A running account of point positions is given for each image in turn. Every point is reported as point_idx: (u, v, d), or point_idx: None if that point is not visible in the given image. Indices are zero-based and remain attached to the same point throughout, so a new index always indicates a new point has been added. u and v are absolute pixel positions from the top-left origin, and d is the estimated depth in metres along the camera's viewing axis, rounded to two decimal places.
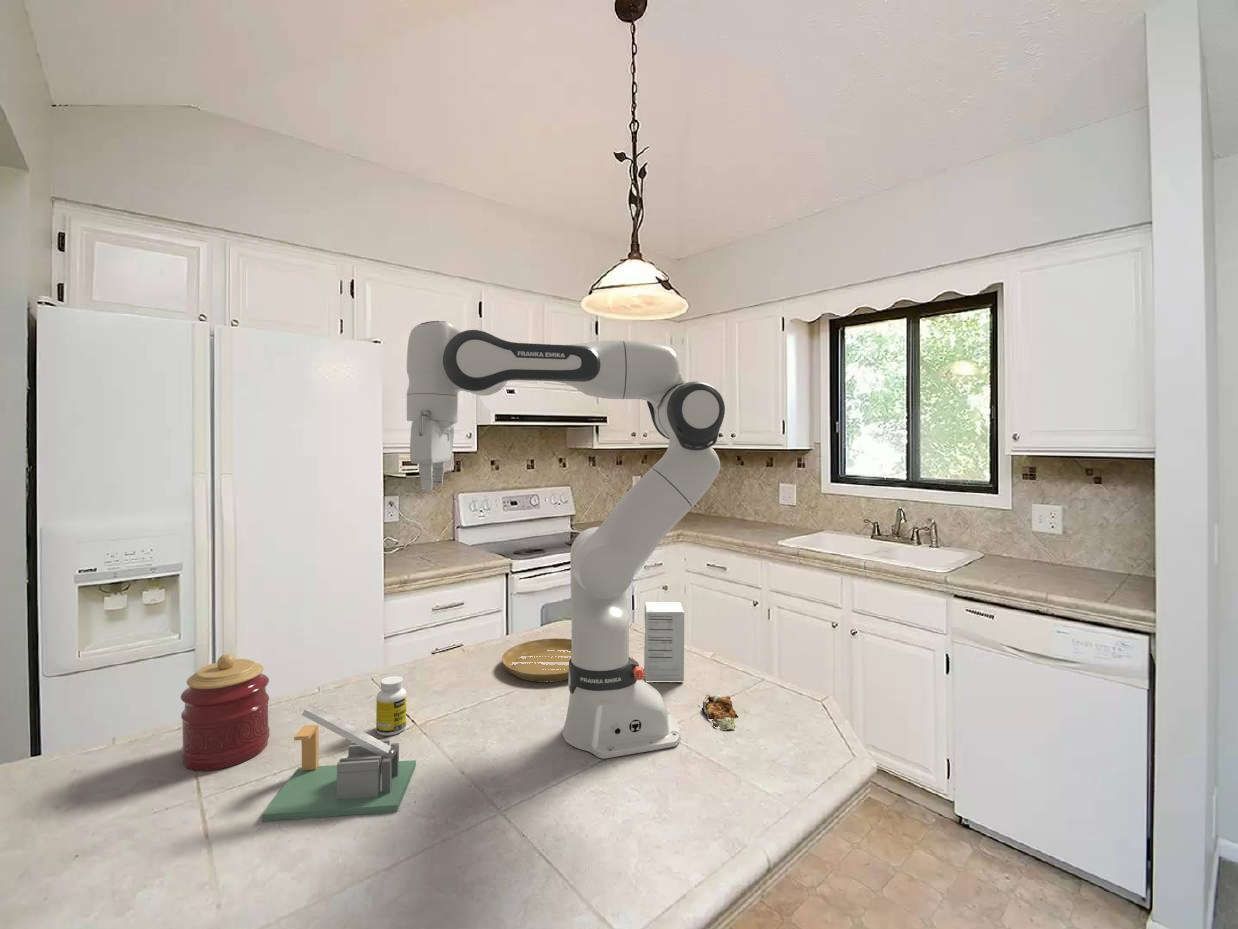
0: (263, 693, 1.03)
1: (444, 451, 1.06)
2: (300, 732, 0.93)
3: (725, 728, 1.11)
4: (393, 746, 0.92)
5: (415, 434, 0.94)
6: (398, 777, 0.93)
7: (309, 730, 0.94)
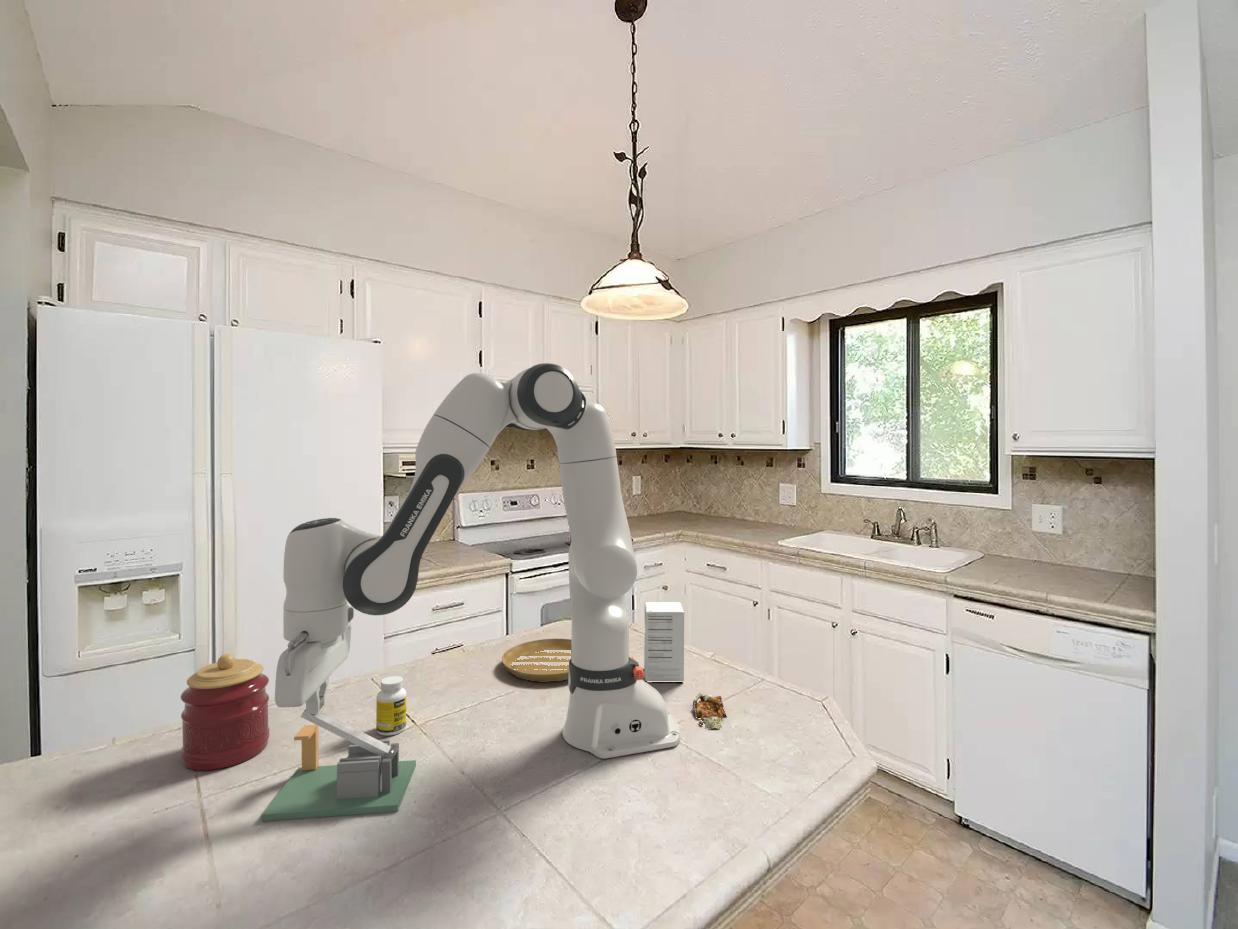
0: (263, 693, 1.03)
1: (332, 663, 0.92)
2: (300, 732, 0.93)
3: (710, 727, 1.12)
4: (393, 746, 0.92)
5: (281, 674, 0.80)
6: (398, 777, 0.93)
7: (309, 730, 0.94)
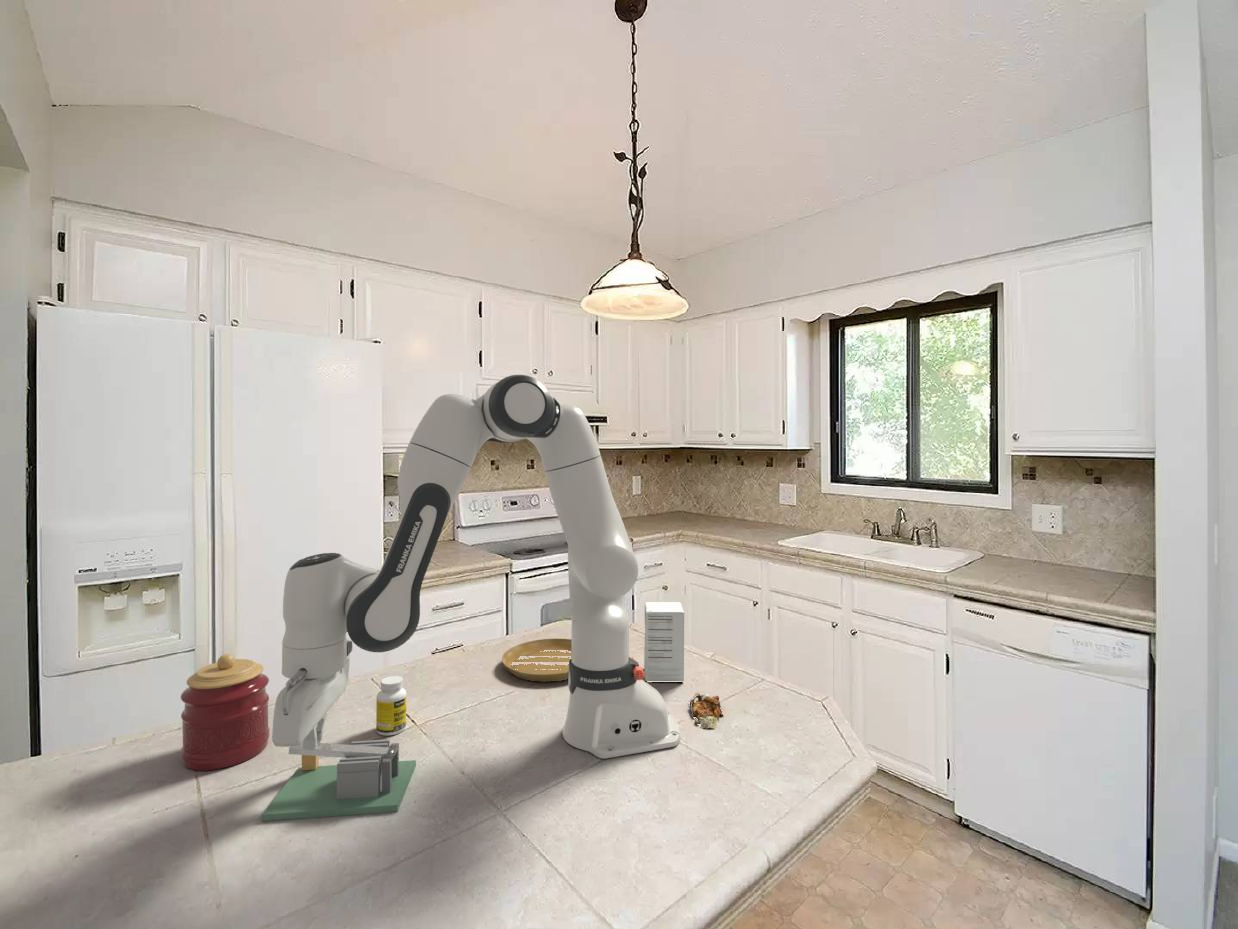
0: (263, 693, 1.03)
1: (330, 698, 0.92)
2: None
3: (705, 727, 1.12)
4: (391, 746, 0.92)
5: (278, 713, 0.80)
6: (398, 777, 0.93)
7: None
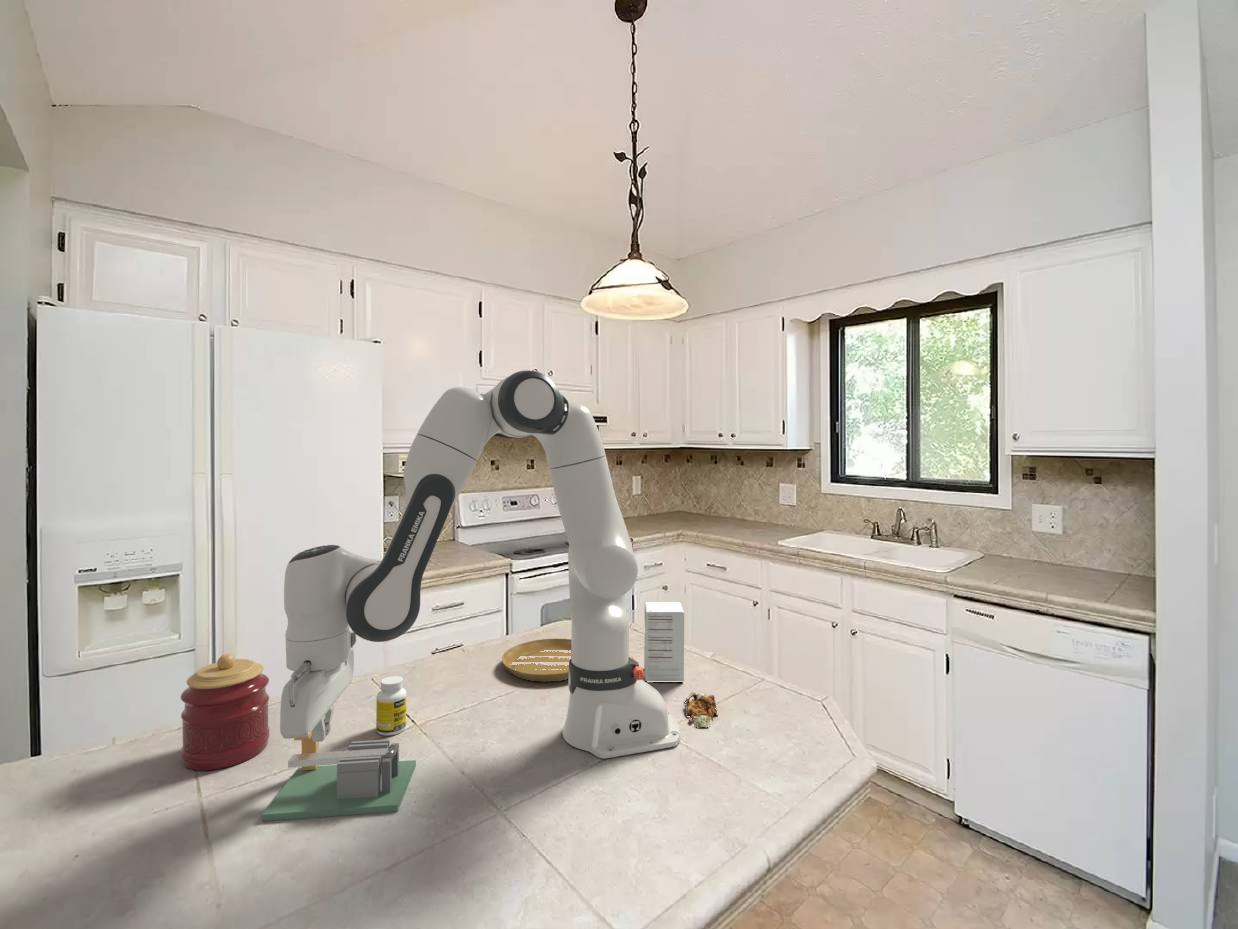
0: (263, 693, 1.03)
1: (336, 689, 0.92)
2: None
3: (699, 726, 1.12)
4: (390, 746, 0.92)
5: (285, 705, 0.80)
6: (398, 777, 0.93)
7: None
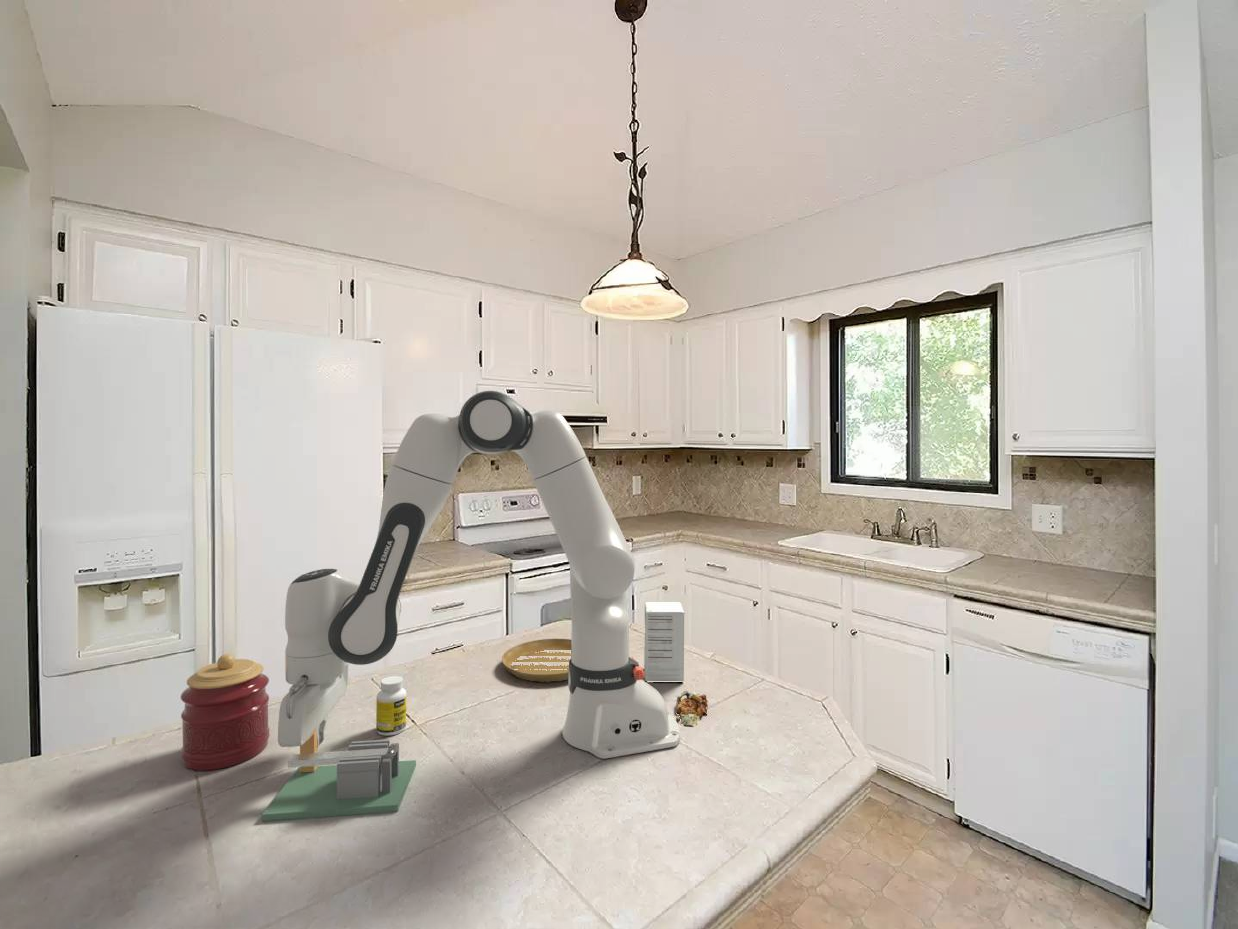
0: (263, 693, 1.03)
1: (330, 701, 1.00)
2: None
3: (685, 724, 1.13)
4: (390, 746, 0.92)
5: (283, 716, 0.88)
6: (398, 777, 0.93)
7: None
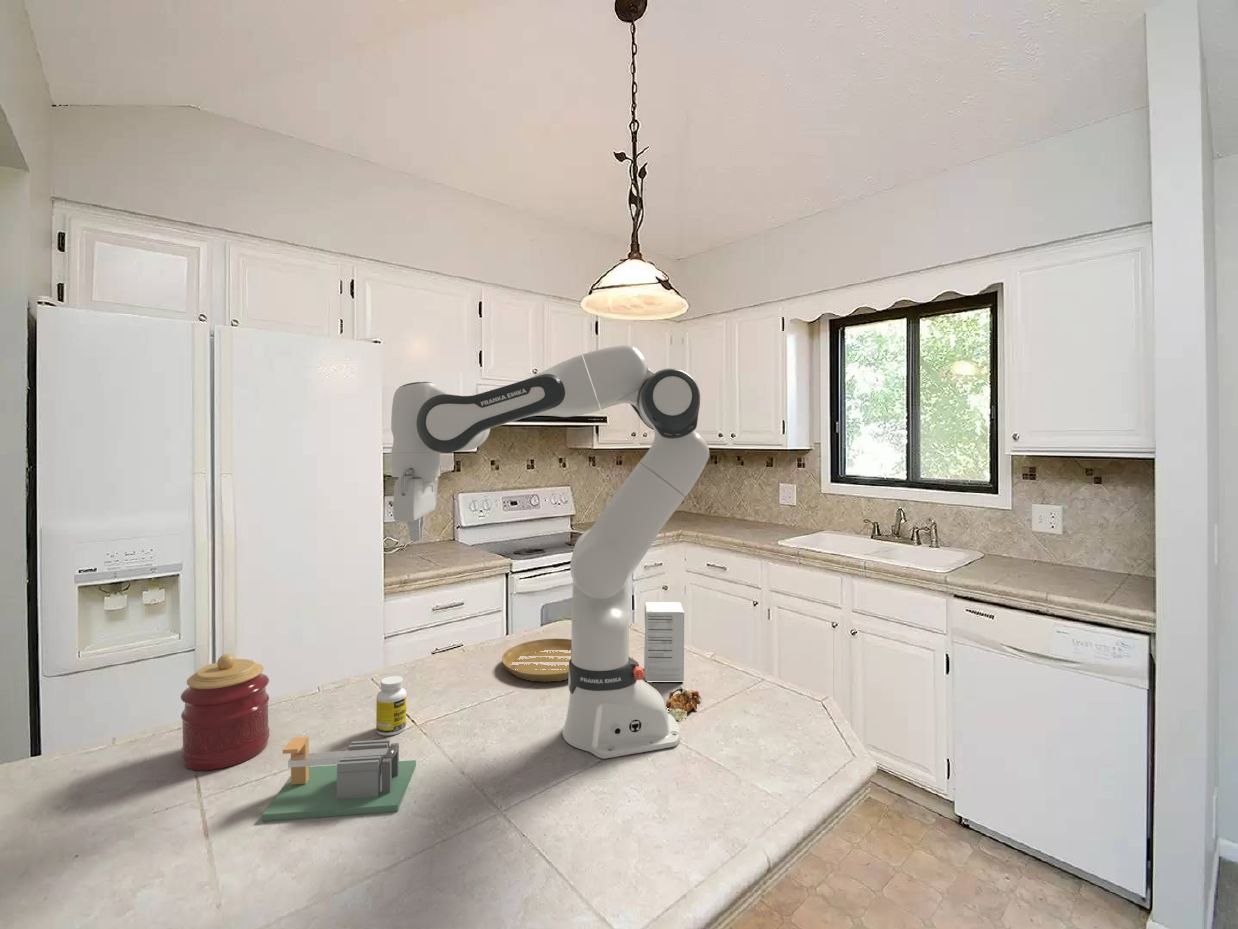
0: (263, 693, 1.03)
1: (428, 504, 1.11)
2: (289, 745, 0.89)
3: None
4: (390, 746, 0.92)
5: (397, 494, 0.99)
6: (398, 777, 0.93)
7: (299, 742, 0.90)
